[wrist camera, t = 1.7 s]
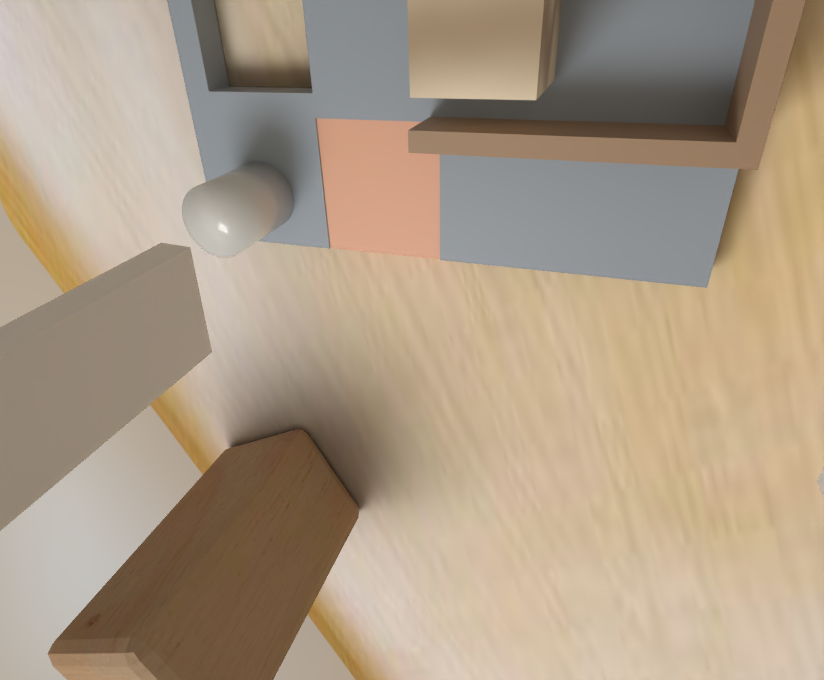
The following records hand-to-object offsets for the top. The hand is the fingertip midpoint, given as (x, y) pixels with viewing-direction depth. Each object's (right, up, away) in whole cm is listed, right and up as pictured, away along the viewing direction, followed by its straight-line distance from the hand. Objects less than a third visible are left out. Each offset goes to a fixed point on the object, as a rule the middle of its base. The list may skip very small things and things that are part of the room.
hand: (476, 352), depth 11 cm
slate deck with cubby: (+1, +14, +18) cm, 23 cm away
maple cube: (+3, +15, +14) cm, 21 cm away
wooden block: (-12, -12, +39) cm, 42 cm away
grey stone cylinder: (-10, +9, +23) cm, 27 cm away
